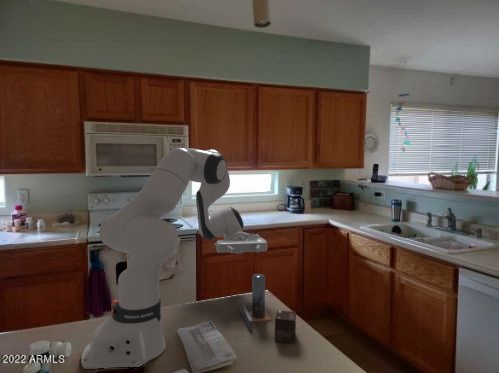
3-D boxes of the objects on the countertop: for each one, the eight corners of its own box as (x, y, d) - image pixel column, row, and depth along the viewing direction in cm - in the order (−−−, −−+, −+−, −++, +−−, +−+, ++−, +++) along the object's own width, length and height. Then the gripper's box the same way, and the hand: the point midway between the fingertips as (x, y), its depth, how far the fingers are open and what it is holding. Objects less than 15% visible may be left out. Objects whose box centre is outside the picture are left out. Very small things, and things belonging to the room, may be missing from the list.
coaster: (251, 322, 117) (251, 321, 117) (246, 313, 124) (246, 312, 124) (271, 320, 119) (271, 319, 119) (265, 311, 126) (265, 310, 126)
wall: (249, 329, 113) (249, 320, 112) (239, 308, 128) (239, 300, 128) (252, 329, 113) (252, 320, 113) (242, 308, 128) (242, 300, 128)
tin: (254, 319, 119) (253, 278, 118) (250, 313, 123) (250, 274, 122) (266, 317, 120) (266, 277, 119) (262, 312, 124) (262, 273, 123)
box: (294, 344, 105) (294, 320, 104) (274, 341, 106) (274, 318, 105) (295, 333, 111) (296, 311, 110) (276, 331, 112) (277, 309, 111)
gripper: (213, 235, 142) (218, 243, 129) (262, 234, 147) (271, 241, 134) (213, 250, 143) (217, 260, 129) (261, 249, 147) (271, 258, 134)
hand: (245, 250), depth 131 cm, fingers open, 8 cm apart
